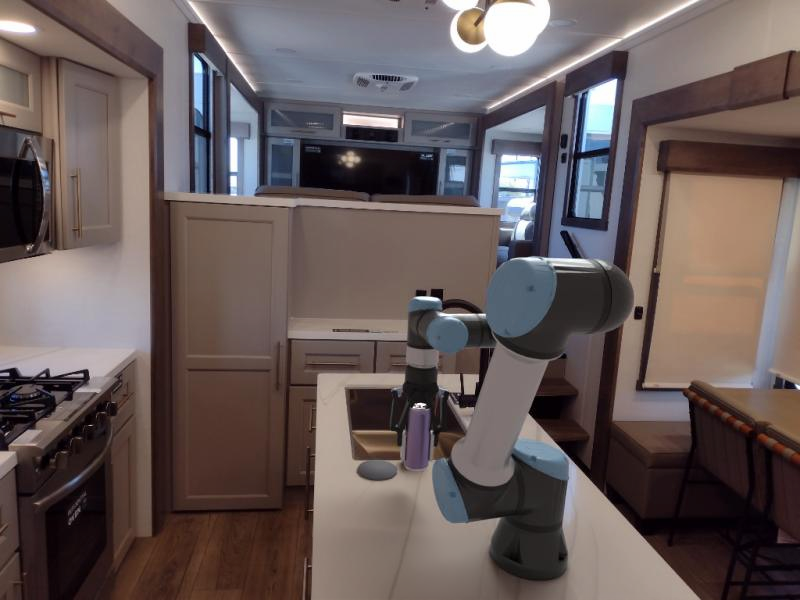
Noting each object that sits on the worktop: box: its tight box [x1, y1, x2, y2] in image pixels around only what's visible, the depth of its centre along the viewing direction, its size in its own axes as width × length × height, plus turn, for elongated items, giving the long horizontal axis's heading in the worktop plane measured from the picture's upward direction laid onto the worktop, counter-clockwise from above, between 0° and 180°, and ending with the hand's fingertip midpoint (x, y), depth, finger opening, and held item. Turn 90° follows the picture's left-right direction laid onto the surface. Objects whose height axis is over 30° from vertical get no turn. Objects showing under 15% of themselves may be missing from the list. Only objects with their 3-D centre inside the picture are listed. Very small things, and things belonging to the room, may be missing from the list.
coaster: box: [357, 459, 398, 481], centre depth 148 cm, size 10×10×1 cm
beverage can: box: [402, 403, 432, 472], centre depth 136 cm, size 6×6×15 cm
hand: (416, 458), depth 137 cm, fingers closed on beverage can, 6 cm apart
